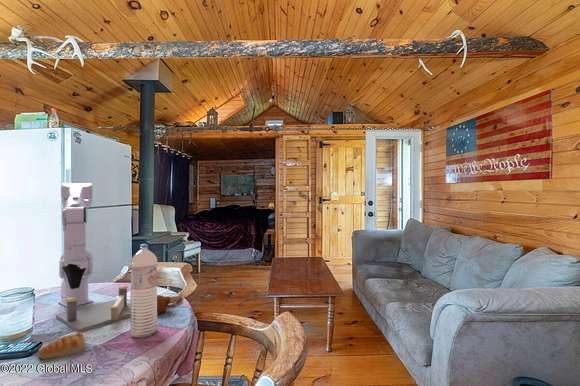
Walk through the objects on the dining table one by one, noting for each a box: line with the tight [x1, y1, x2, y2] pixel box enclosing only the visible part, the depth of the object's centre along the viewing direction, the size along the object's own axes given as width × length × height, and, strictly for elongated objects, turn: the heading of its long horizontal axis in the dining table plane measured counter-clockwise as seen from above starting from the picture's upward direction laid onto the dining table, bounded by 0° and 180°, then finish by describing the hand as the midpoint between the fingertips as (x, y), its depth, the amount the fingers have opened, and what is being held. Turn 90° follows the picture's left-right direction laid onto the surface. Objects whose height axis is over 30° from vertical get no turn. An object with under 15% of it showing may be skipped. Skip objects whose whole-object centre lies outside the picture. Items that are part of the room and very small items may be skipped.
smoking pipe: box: [157, 293, 183, 315], centre depth 112 cm, size 7×18×6 cm, turn 177°
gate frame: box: [55, 284, 131, 333], centre depth 103 cm, size 18×19×8 cm
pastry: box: [37, 332, 87, 360], centre depth 79 cm, size 9×7×4 cm
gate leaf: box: [111, 295, 124, 320], centre depth 101 cm, size 12×2×4 cm, turn 18°
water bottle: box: [129, 243, 158, 339], centre depth 90 cm, size 7×7×25 cm
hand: (74, 288), depth 100 cm, fingers closed
